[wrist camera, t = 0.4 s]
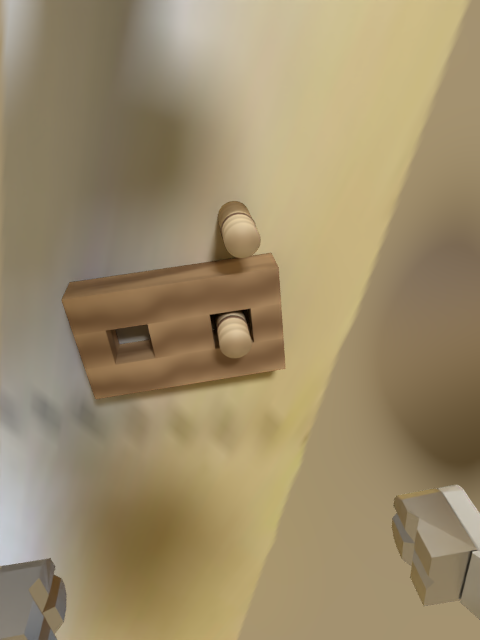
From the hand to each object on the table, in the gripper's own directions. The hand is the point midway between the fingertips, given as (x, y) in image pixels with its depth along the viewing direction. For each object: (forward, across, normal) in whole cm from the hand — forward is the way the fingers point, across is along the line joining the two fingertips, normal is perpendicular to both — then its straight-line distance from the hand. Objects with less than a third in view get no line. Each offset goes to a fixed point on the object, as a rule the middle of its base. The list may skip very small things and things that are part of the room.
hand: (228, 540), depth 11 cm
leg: (+44, -4, +6) cm, 45 cm away
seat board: (+44, +4, +18) cm, 48 cm away
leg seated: (+44, -2, +18) cm, 48 cm away
